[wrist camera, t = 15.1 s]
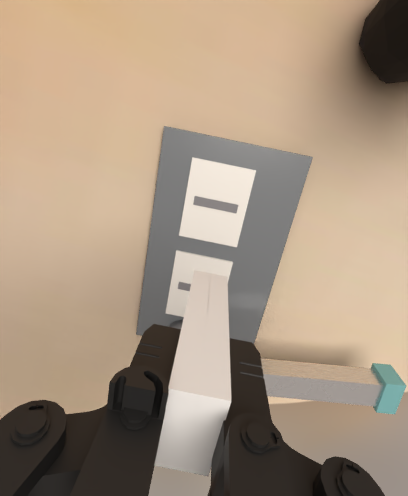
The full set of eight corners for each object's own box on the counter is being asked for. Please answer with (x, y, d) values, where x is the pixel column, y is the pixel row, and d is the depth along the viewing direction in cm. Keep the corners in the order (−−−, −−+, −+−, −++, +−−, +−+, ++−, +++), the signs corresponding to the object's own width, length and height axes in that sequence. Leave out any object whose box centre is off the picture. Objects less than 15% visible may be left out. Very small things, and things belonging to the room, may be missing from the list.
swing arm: (158, 370, 35) (152, 390, 32) (158, 343, 34) (152, 361, 31) (380, 391, 34) (395, 414, 31) (390, 364, 33) (406, 385, 30)
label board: (138, 329, 41) (124, 360, 35) (166, 126, 32) (153, 123, 26) (248, 351, 41) (253, 385, 36) (309, 156, 32) (328, 160, 26)
